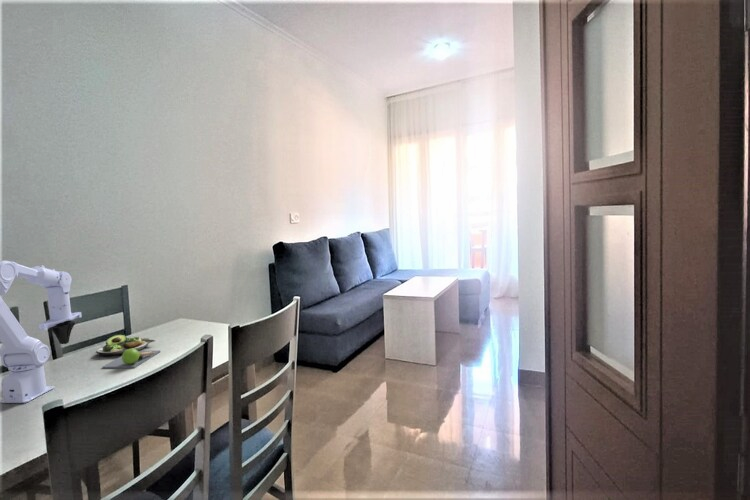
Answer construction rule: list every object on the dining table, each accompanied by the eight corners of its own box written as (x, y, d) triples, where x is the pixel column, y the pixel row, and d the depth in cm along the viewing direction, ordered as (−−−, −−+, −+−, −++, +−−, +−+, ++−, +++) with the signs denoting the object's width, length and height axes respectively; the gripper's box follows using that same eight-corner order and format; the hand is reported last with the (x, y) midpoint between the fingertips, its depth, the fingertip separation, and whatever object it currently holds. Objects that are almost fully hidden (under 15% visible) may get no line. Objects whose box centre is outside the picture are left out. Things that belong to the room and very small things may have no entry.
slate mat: (134, 368, 132) (134, 366, 132) (102, 368, 133) (102, 366, 133) (160, 351, 147) (160, 350, 147) (131, 352, 148) (131, 350, 148)
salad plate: (163, 338, 162) (162, 328, 161) (144, 352, 144) (143, 341, 144) (116, 343, 159) (115, 332, 159) (90, 358, 142) (88, 346, 141)
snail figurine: (136, 348, 132) (154, 345, 144) (118, 350, 132) (137, 347, 144) (137, 363, 132) (154, 359, 143) (118, 366, 131) (137, 361, 143)
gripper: (51, 311, 121) (56, 351, 122) (87, 300, 135) (92, 336, 136) (30, 311, 121) (36, 351, 122) (69, 300, 135) (73, 336, 137)
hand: (64, 343), depth 129 cm, fingers closed
